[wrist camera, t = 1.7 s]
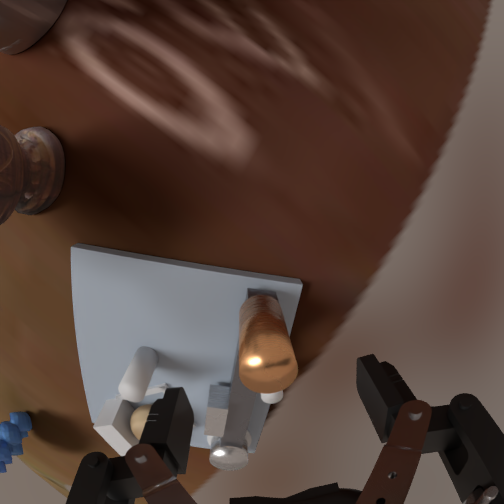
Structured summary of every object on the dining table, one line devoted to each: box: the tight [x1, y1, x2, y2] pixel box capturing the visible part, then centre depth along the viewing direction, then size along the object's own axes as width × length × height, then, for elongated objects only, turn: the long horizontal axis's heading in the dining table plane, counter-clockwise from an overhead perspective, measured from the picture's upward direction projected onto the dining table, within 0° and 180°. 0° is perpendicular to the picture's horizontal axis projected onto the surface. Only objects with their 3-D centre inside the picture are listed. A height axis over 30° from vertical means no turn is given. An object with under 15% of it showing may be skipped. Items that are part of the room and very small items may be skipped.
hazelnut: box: [130, 404, 153, 440], centre depth 23 cm, size 4×4×4 cm
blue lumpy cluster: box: [0, 411, 32, 473], centre depth 21 cm, size 12×7×12 cm, turn 138°
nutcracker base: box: [71, 243, 303, 456], centre depth 22 cm, size 20×18×6 cm
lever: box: [204, 288, 298, 470], centre depth 20 cm, size 19×4×8 cm, turn 170°
